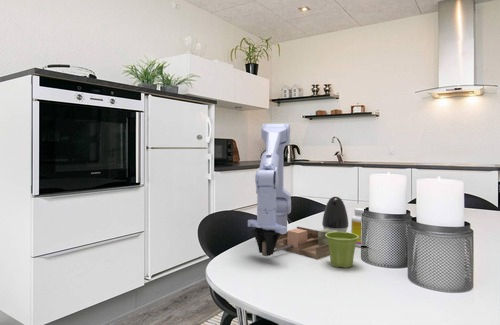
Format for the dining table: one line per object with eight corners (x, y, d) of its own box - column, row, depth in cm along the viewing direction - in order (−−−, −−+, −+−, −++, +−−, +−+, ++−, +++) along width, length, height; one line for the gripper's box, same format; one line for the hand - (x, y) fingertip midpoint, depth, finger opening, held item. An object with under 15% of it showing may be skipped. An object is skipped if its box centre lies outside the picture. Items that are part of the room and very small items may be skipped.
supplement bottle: (371, 248, 120) (372, 211, 119) (351, 247, 121) (352, 210, 121) (369, 243, 126) (369, 208, 126) (350, 242, 127) (350, 207, 127)
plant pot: (340, 272, 96) (340, 240, 95) (318, 262, 104) (318, 233, 104) (365, 267, 100) (365, 237, 100) (342, 258, 108) (342, 230, 108)
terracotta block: (258, 254, 107) (258, 237, 107) (296, 243, 120) (297, 228, 119) (268, 257, 103) (268, 240, 103) (307, 245, 116) (307, 230, 116)
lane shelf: (268, 245, 122) (269, 227, 121) (297, 238, 133) (297, 221, 132) (317, 259, 107) (317, 238, 107) (345, 249, 118) (345, 230, 118)
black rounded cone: (319, 236, 136) (320, 197, 136) (324, 230, 146) (325, 194, 145) (346, 238, 132) (347, 198, 132) (349, 232, 142) (350, 195, 142)
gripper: (240, 207, 108) (240, 250, 108) (275, 213, 98) (275, 261, 98) (256, 205, 113) (256, 246, 113) (291, 210, 102) (291, 256, 103)
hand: (266, 253), depth 106 cm, fingers closed on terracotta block, 3 cm apart
